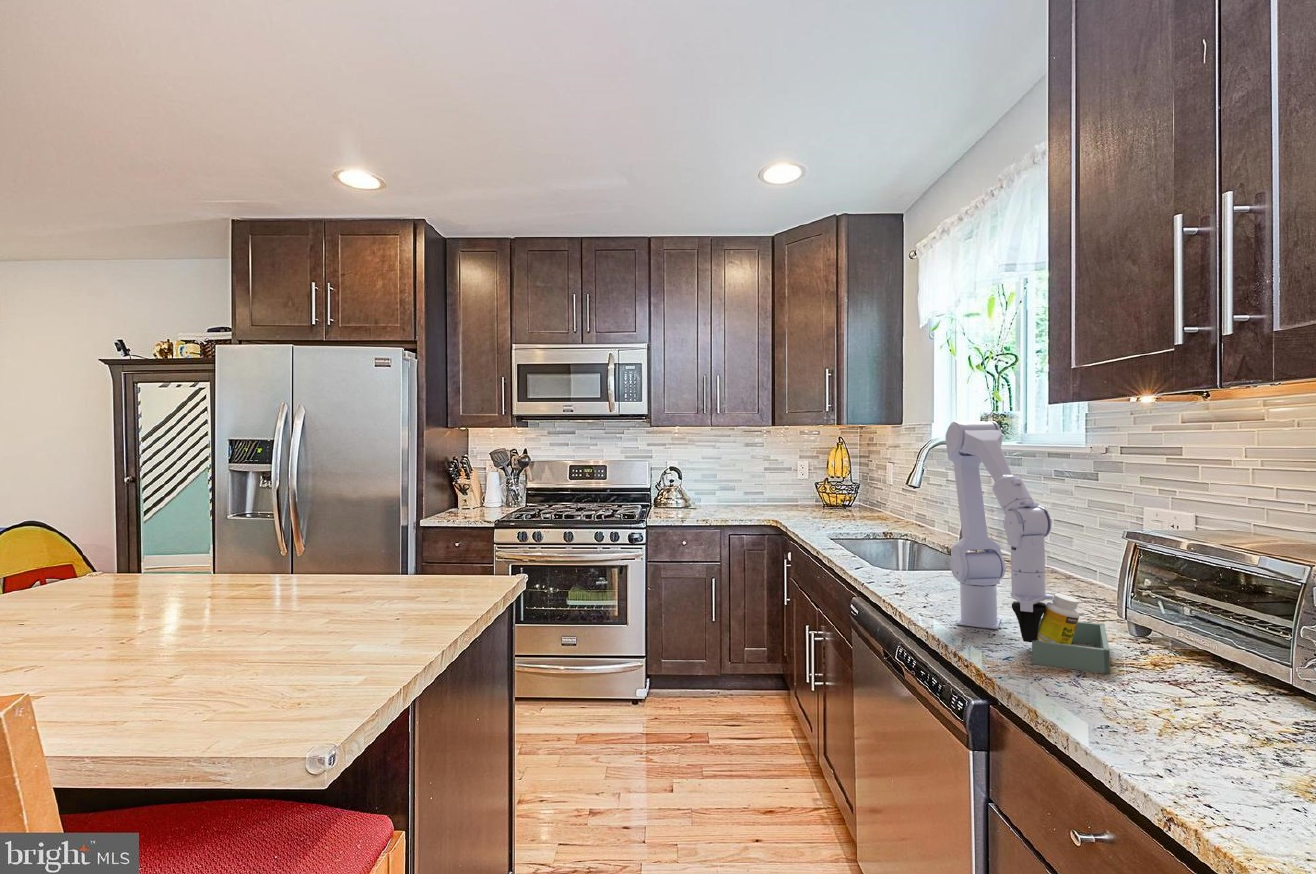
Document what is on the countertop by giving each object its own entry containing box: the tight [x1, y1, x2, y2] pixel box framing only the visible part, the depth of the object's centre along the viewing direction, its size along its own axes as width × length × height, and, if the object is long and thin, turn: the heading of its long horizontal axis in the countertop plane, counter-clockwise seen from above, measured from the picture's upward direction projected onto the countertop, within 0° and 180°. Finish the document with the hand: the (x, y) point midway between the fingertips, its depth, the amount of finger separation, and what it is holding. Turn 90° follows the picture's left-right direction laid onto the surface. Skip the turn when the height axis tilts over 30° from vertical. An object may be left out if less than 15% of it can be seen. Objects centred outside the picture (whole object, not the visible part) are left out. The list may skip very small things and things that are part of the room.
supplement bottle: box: [1036, 593, 1081, 645], centre depth 128 cm, size 6×6×10 cm
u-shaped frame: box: [1031, 617, 1111, 675], centre depth 127 cm, size 19×12×4 cm, turn 149°
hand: (1029, 641), depth 130 cm, fingers closed, pressing on supplement bottle
